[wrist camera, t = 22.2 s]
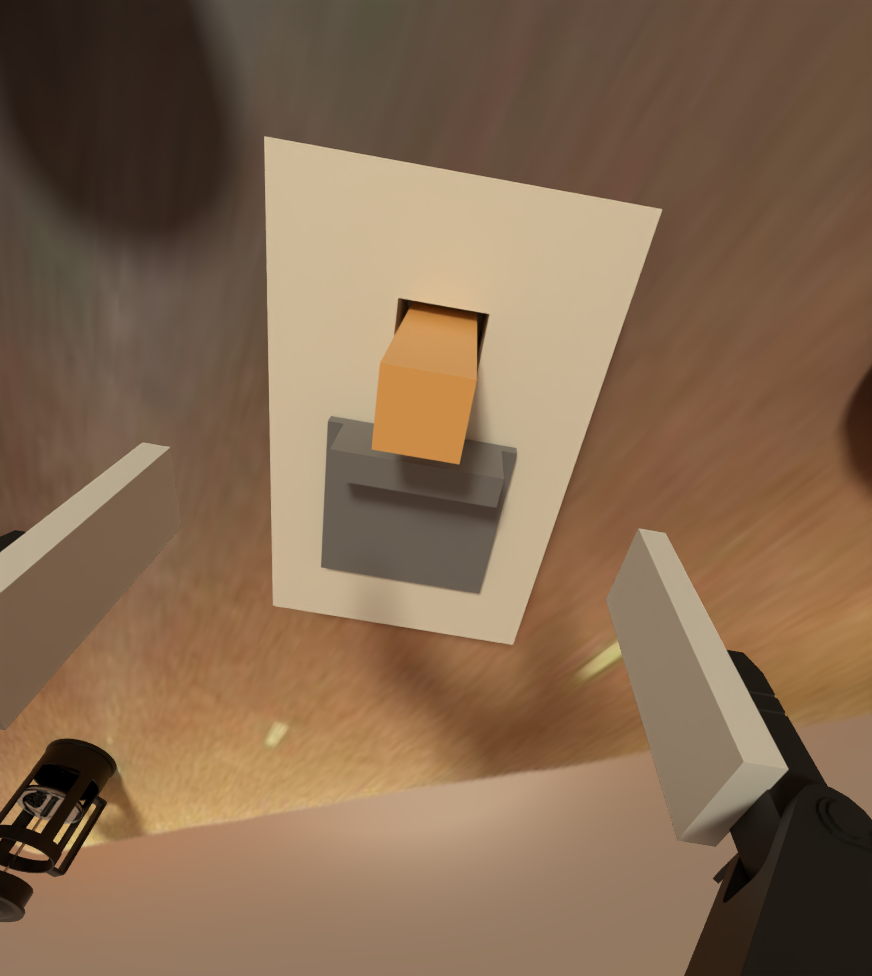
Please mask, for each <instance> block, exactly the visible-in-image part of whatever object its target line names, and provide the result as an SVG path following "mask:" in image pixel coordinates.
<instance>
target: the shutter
mask: <svg viewBox="0 0 872 976" xmlns="http://www.w3.org/2000/svg"><path fill="white" fill-rule="evenodd" d="M373 428H374V423H369V422H363V421H357V420H351V419H346V418H340V417H334V416H331V417H330V418H329V420H328V428H327V449H326V470H325V491H324V513H323V534H322V555H321V568H327V569H333V570H339V571H345V572H352V573H358V574H364V575H370V576H376V577H382V578H388V579H394V580H400V581H406V582H412V583H418V584H424V585H430V586H436V587H442V588H448V589H454V590H460V591H466V592H472V593H478V594H479V593H480V589H481V586H482V582H483V578H484V575H485V571H486V567H487V564H488V560H489V556H490V552H491V549H492V545H493V541H494V538H495V534H496V530H497V527H498V523H499V519H500V516H501V512H502V508H503V504H504V501H505V497H506V493H507V490H508V486H509V482H510V479H511V475H512V471H513V468H514V464H515V460H516V457H517V448H514V447H508V446H502V445H496V444H491V443H485V442H479V441H473V440H467V439H465V440H464V445H463V450H462V455H461V460H460V464H454V463H448V462H442V461H436V460H430V459H425V458H419V457H413V456H407V455H401V454H395V453H389V452H384V451H378V450H372V438H373Z"/></svg>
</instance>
